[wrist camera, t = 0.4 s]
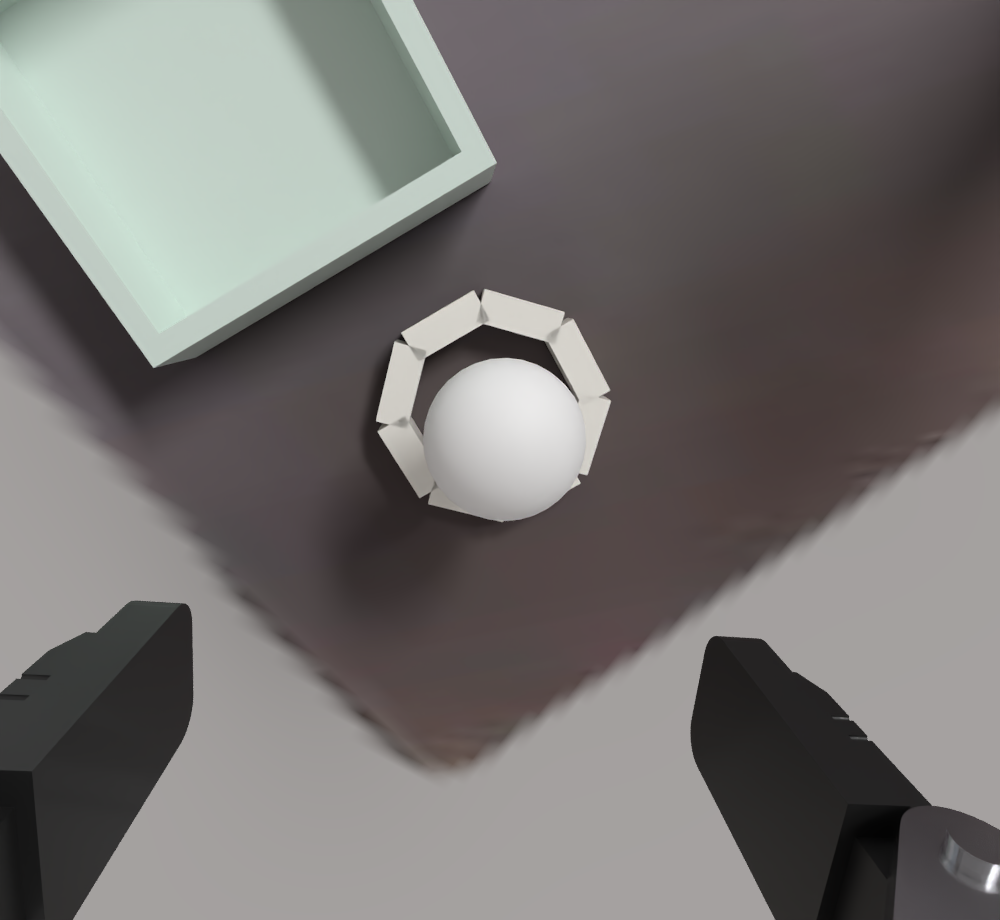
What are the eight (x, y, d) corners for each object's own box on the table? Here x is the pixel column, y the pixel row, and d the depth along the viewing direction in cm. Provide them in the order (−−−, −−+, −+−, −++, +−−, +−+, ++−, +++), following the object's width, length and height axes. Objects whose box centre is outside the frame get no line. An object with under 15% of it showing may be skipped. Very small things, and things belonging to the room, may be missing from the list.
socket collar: (534, 254, 31) (538, 252, 29) (632, 442, 33) (641, 449, 32) (343, 365, 31) (337, 369, 30) (454, 541, 34) (454, 553, 32)
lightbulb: (406, 420, 32) (383, 483, 22) (476, 317, 31) (488, 329, 21) (507, 487, 33) (532, 577, 23) (577, 389, 32) (638, 436, 22)
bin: (290, -200, 26) (257, -300, 21) (490, 181, 30) (496, 163, 25) (-40, 16, 27) (-136, -37, 22) (195, 357, 31) (153, 368, 26)
